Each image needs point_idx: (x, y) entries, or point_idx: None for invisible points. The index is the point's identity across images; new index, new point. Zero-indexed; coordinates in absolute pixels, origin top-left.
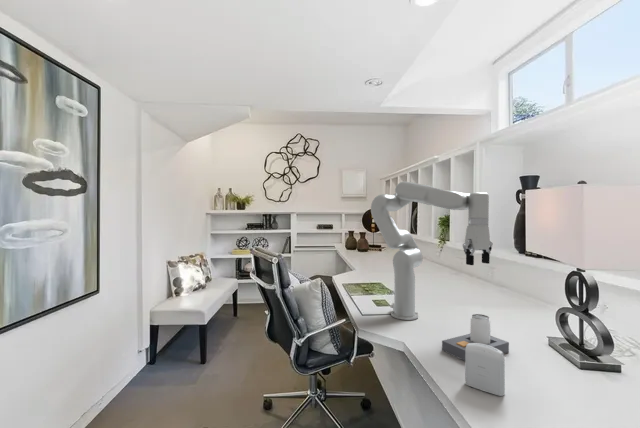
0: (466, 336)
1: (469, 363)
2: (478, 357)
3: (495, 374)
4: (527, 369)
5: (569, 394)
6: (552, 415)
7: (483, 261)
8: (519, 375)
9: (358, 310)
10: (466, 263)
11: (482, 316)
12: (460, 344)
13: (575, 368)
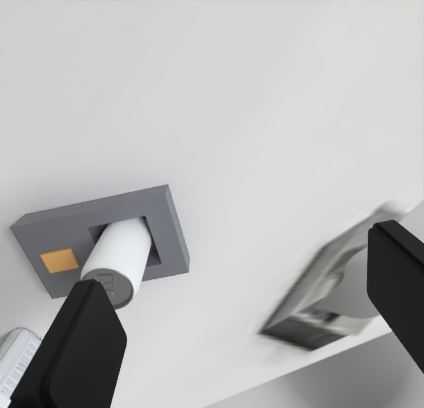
0: (99, 218)
1: None
2: None
3: None
4: (162, 317)
5: (159, 375)
6: None
7: (376, 257)
8: (129, 329)
9: None
10: (77, 288)
11: (120, 283)
12: (46, 265)
13: (253, 330)
